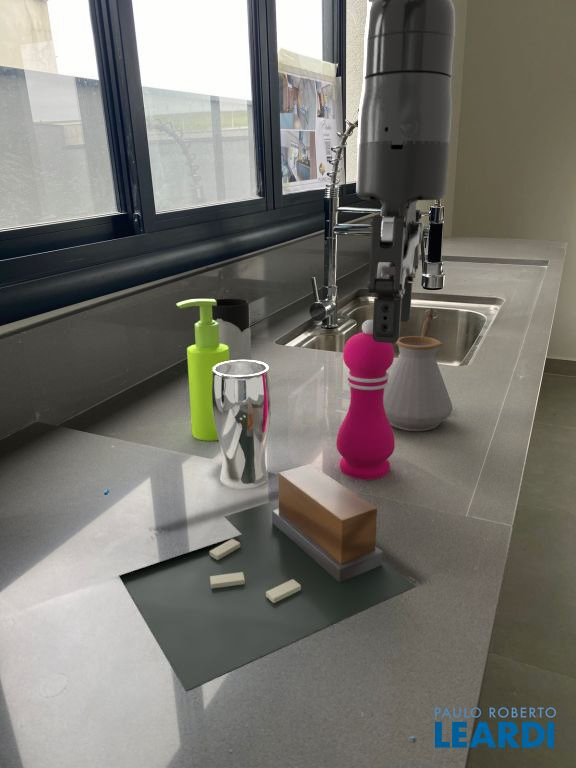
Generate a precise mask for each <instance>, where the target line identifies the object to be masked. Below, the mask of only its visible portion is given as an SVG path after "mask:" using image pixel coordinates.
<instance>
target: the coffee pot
mask: <svg viewBox="0 0 576 768" xmlns="http://www.w3.org/2000/svg"><path fill="white" fill-rule="evenodd" d="M434 312H435V313H436V314H437V315H436V316H434V315H433V314H434ZM438 316H439V311H437V310H436V309H433V308H432V307H430V308H429V309H426V310H425V311H424V317H425V320H424V322H423V324H422V329H421V334H420V336H418V335H410V336H401V337H399V339H398V341H397V342H395V344H396V345H397V346H398V351H399V354H398V356H397V358H396V360H395V362H394V364H393V366H392V368H391V370H390V371H389V373H388V374H389V378H388V382H389V384H388V386H387V387H385V389H384V395H383V403H384V409H385V413H386V416H387V418H388V421H389V423H390V425H391V427H394V428H397V429H400V430H404V431H408V432H409V431H411V432H412V431H413V432H425V431H430V430H433V429H435V428H437V427H438V426H439V425H440V424H442V423H443V422H444V421H446V420H447V419H448V417H450V415H451V413H452V412H453V403H452V400H451V397H450V395H449V392H448V390H447V389H448V388H447V387H446V384H445V381H444V378H443V375H442V373H441V370H440V367H439V364H438V362H437V359H436V353H437V352H438V351H439V350H440V347H441V346H443V343H442V342H441V341H440V340H439V339H436V338H433V337H428V335H429V332H430V330H431V328H432V320H433V319H436V318H438Z"/></svg>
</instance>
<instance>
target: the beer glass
mask: <svg viewBox="0 0 576 768" xmlns="http://www.w3.org/2000/svg"><path fill="white" fill-rule="evenodd" d="M212 371H213V377H212V408H213V417H214V422H215V427H216V432H217V436H218V440H217V441H218V444H219V449H220V453H221V454H220V455H221V471H220V477H219V480H220V482H221V484H222V485H224V486H226V487H228V488H231V489H239V490H247V489H253V488H257V487H260V486H262V485H263V484H265V483H266V482H267V481H268V479H269V474H268V470H267V465H266V449H267V443H268V438H269V431H270V425H271V417H272V387H271V378H270V367H269V365H268V364H266V363H265V362H262V361H259V360H252V359H251V360H234V361H227V362H223V363H220V364H217V365H215V366H214V367H213V369H212Z"/></svg>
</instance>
